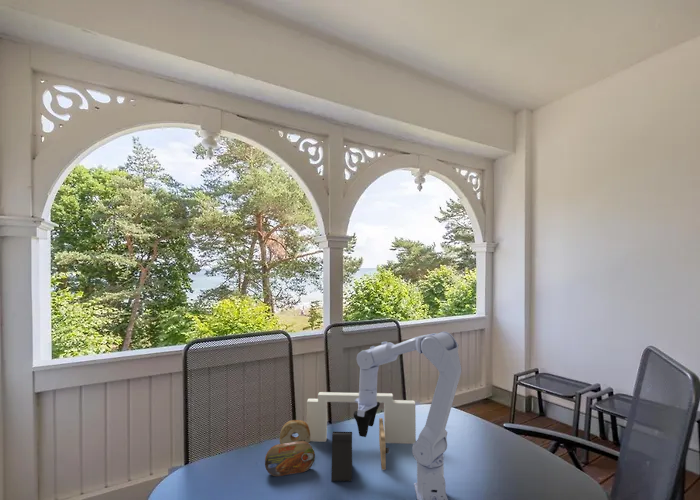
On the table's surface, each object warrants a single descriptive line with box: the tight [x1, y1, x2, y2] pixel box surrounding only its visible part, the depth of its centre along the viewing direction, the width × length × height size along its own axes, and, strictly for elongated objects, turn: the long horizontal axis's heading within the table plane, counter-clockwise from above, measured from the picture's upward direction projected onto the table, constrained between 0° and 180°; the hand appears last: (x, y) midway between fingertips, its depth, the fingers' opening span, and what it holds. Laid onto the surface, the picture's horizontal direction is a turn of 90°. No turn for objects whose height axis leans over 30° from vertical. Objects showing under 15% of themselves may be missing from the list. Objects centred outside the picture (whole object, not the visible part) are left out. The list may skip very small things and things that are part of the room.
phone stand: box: [330, 431, 353, 482], centre depth 108 cm, size 9×6×12 cm, turn 179°
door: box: [378, 417, 390, 471], centre depth 119 cm, size 19×2×8 cm, turn 178°
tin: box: [264, 441, 316, 477], centre depth 109 cm, size 15×3×8 cm, turn 105°
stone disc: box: [279, 419, 311, 444], centre depth 122 cm, size 10×4×10 cm, turn 95°
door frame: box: [306, 391, 417, 445], centre depth 129 cm, size 3×39×16 cm, turn 88°
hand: (366, 430), depth 113 cm, fingers open, 7 cm apart
